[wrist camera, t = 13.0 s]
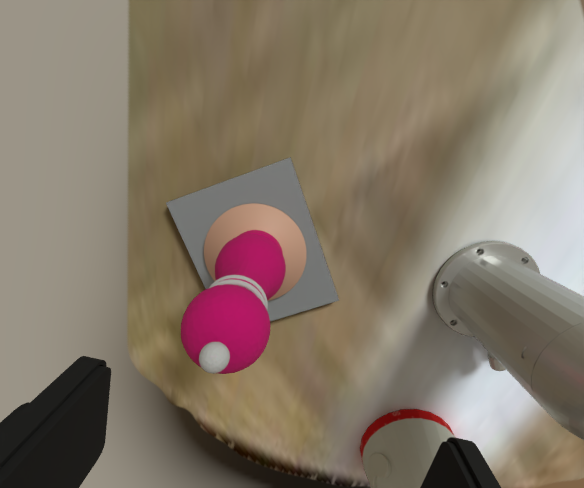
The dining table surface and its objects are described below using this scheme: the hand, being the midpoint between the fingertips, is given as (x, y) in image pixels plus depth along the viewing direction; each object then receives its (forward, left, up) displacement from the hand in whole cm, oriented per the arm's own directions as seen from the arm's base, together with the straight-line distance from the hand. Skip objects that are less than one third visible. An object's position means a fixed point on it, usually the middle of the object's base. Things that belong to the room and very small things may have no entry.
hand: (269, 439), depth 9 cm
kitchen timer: (-38, -5, -31) cm, 49 cm away
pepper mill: (-2, +5, -29) cm, 29 cm away
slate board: (-2, +5, -30) cm, 31 cm away
